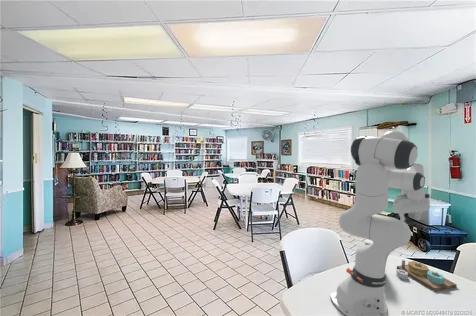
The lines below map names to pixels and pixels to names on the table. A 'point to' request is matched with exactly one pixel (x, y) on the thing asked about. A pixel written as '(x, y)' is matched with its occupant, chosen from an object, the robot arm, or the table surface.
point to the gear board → (424, 275)
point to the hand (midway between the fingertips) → (409, 220)
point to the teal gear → (435, 278)
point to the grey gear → (402, 274)
